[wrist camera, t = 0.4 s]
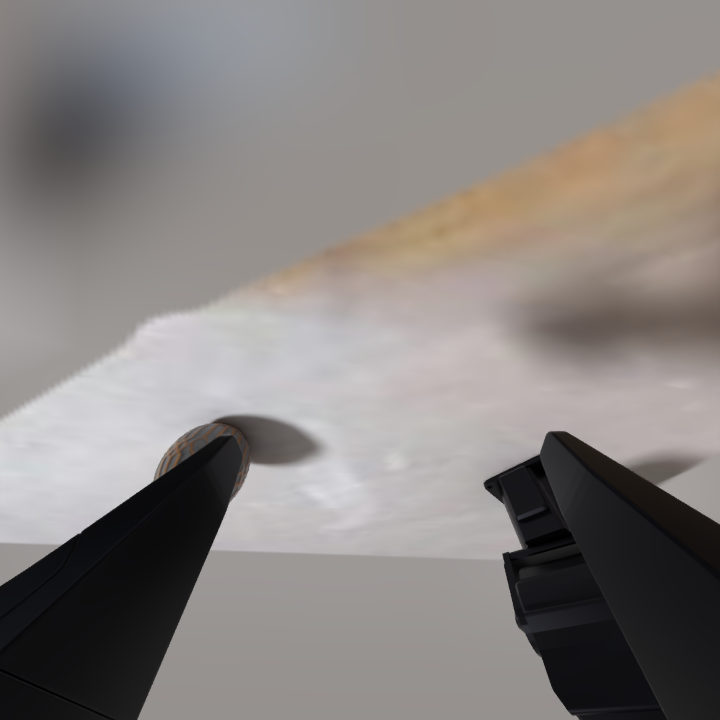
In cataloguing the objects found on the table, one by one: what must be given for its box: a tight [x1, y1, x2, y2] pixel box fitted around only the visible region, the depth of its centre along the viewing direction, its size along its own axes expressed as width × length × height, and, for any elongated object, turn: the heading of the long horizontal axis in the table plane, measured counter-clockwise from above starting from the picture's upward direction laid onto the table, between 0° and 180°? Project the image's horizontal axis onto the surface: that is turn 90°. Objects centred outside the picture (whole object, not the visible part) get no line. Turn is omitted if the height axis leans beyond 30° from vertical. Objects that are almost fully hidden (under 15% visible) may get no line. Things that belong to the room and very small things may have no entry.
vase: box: [153, 423, 250, 503], centre depth 23 cm, size 7×7×9 cm
